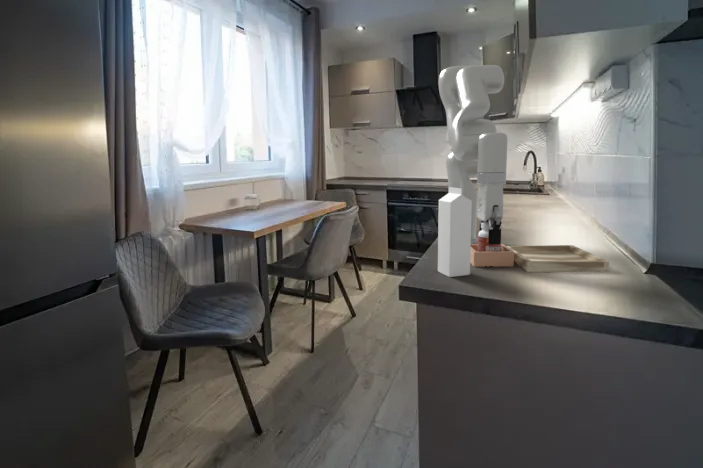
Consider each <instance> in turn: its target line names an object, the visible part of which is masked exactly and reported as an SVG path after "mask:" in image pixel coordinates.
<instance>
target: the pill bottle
mask: <svg viewBox="0 0 703 468" xmlns="http://www.w3.org/2000/svg"><path fill="white" fill-rule="evenodd" d="M492 224H493V222H492ZM481 228H482V230H481V231H480V232H477V233H478V235H477V237H478V251H477V252H489V251H500V249H501V244H502V243H501V244H489V243H488V231H489V229H490V226H489V222H483V223H481Z"/></svg>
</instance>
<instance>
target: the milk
mask: <svg viewBox="0 0 703 468" xmlns="http://www.w3.org/2000/svg"><path fill="white" fill-rule="evenodd" d="M437 212H438V216H437V218H438V219H437V220H438V221H437V223H438V227H437V231H438V232H437V233H438V235H437V272H439V273H440V274H442V275H444V276H446V277H448V278H452V277H453V278H454V277H462V276H470V275H471V263H470V250H471V213H472V201H471V200H469V199H468V198H466V197H465V196H463V195H462V189H461V188H453V187H449V193H446V194H445V195H444V196H442V197H441V198H439V199H438V211H437Z"/></svg>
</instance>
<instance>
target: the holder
mask: <svg viewBox="0 0 703 468" xmlns="http://www.w3.org/2000/svg"><path fill="white" fill-rule="evenodd" d="M507 246H508V245H505V244H504V243H501V249H500V251H489V252H477V251H478V244H471V250H470V265H471V266H473V267H474V268H475V267H476V268H477V267H478V268H480V267H481V268H482V267H483V268H484V267H485V266H487V268H488V267H489V266H493V267H514V265H515V262H514V251H512V250H511V249H509V248H508V247H507ZM489 268H490V267H489Z"/></svg>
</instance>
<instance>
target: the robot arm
mask: <svg viewBox="0 0 703 468" xmlns="http://www.w3.org/2000/svg"><path fill="white" fill-rule="evenodd" d="M504 84H505V74H504V72H503V69H502V67H501V66H499V65H497V64H483V65H480V64H479V65H478V64H477V65H454V66H448V67H446V68H444V69H443V70H441V72H440V74H439V76H438V91H439V97H440V100H441V103H442V105H443V107H444V109H445V115H446V129H447V137H448V142H449V145H450V146H451V152H450V153H449V154H448V155H447V156H446V159H445V165H446V175H447V183H448V187H447V188H448V189H447V190H448V191H447V192H448V193H449V187H453V188H461V189H462V195H463V196H465V197H466V198H468V199H469V200H471V201H472V213H471V244H478V236H477V218H478V219H479V230H478V231H479V232H480V231H481V230H482V228H481V223H483V222H489V226H490V229H489V231H488V243H489V244H502V220H503V217H504V216H503V215H504V188H503V186H504V185H506V184H507V162H508V161H507V160H508V159H507V158H508V135H507V134H506V133H505V132H498V131H497V127H496V125H495V123H494V122H493V121H492V120H490V119H483V117H484V116H485V115H486V114H488V112H489V110H490V107H491V102H490V97H489V94H497V93H500V92H501V91H502V89H503V88H504ZM481 118H482V119H481ZM470 179H476V185H478V192H477V188H476V186H475V185H474V184H473V182H472V181H471V180H470ZM448 193H447V194H448ZM492 222H493V224H492ZM479 232H478V233H479Z"/></svg>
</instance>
